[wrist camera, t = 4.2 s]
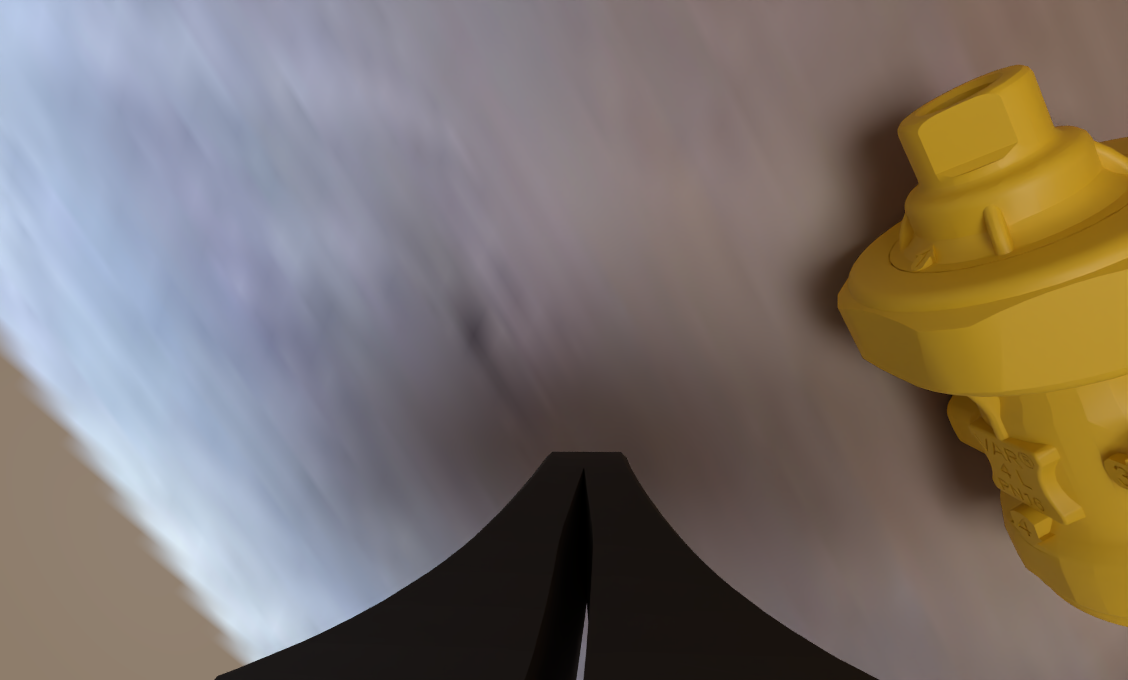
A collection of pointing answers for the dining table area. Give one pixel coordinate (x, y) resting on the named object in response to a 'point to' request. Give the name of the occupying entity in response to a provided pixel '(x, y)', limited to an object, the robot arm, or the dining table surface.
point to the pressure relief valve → (1016, 318)
